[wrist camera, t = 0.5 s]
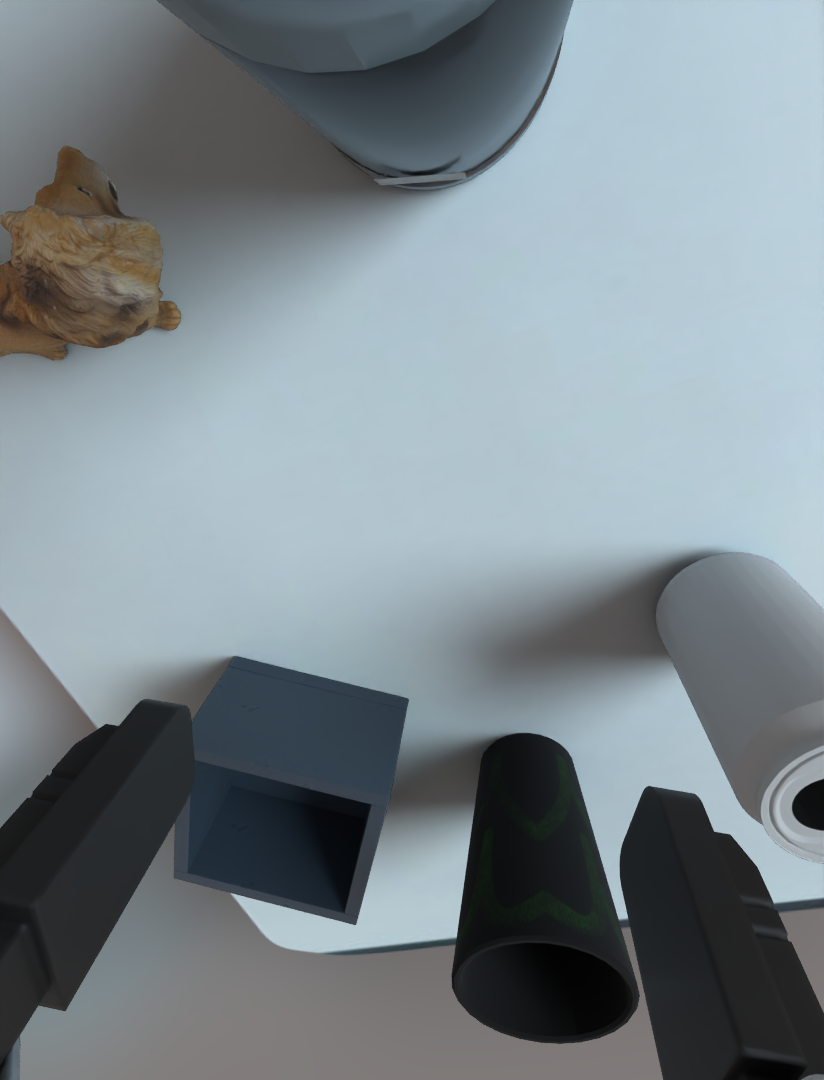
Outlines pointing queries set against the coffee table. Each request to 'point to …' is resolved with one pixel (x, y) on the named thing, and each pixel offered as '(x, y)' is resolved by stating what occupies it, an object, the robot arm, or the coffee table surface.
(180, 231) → the coffee table surface
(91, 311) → the lion figurine
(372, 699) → the open box
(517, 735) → the cup
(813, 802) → the beverage can
